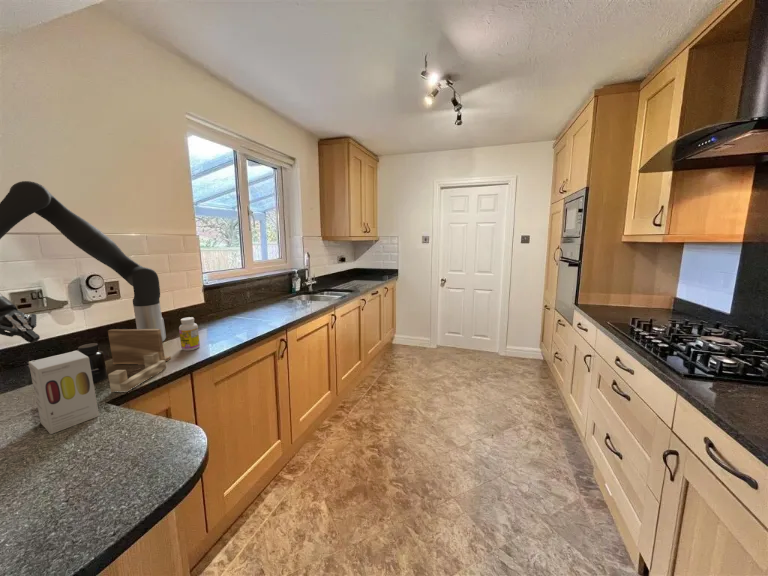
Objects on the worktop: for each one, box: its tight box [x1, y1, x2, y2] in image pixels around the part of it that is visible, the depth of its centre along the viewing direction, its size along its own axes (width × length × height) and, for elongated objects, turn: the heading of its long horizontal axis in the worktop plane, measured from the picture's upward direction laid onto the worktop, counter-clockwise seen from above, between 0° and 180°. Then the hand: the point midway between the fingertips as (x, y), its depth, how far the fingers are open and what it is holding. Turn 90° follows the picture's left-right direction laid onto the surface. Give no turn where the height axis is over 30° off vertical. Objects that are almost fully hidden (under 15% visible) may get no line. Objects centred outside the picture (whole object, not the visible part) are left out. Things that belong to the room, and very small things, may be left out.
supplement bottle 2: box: [178, 316, 201, 352], centre depth 129 cm, size 7×7×13 cm
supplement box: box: [28, 349, 100, 435], centre depth 80 cm, size 10×9×17 cm
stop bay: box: [107, 353, 167, 392], centre depth 102 cm, size 17×5×6 cm, turn 0°
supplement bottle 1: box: [77, 342, 108, 384], centre depth 102 cm, size 7×7×12 cm
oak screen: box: [107, 328, 172, 365], centre depth 116 cm, size 5×18×13 cm, turn 90°
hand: (36, 340), depth 101 cm, fingers closed
